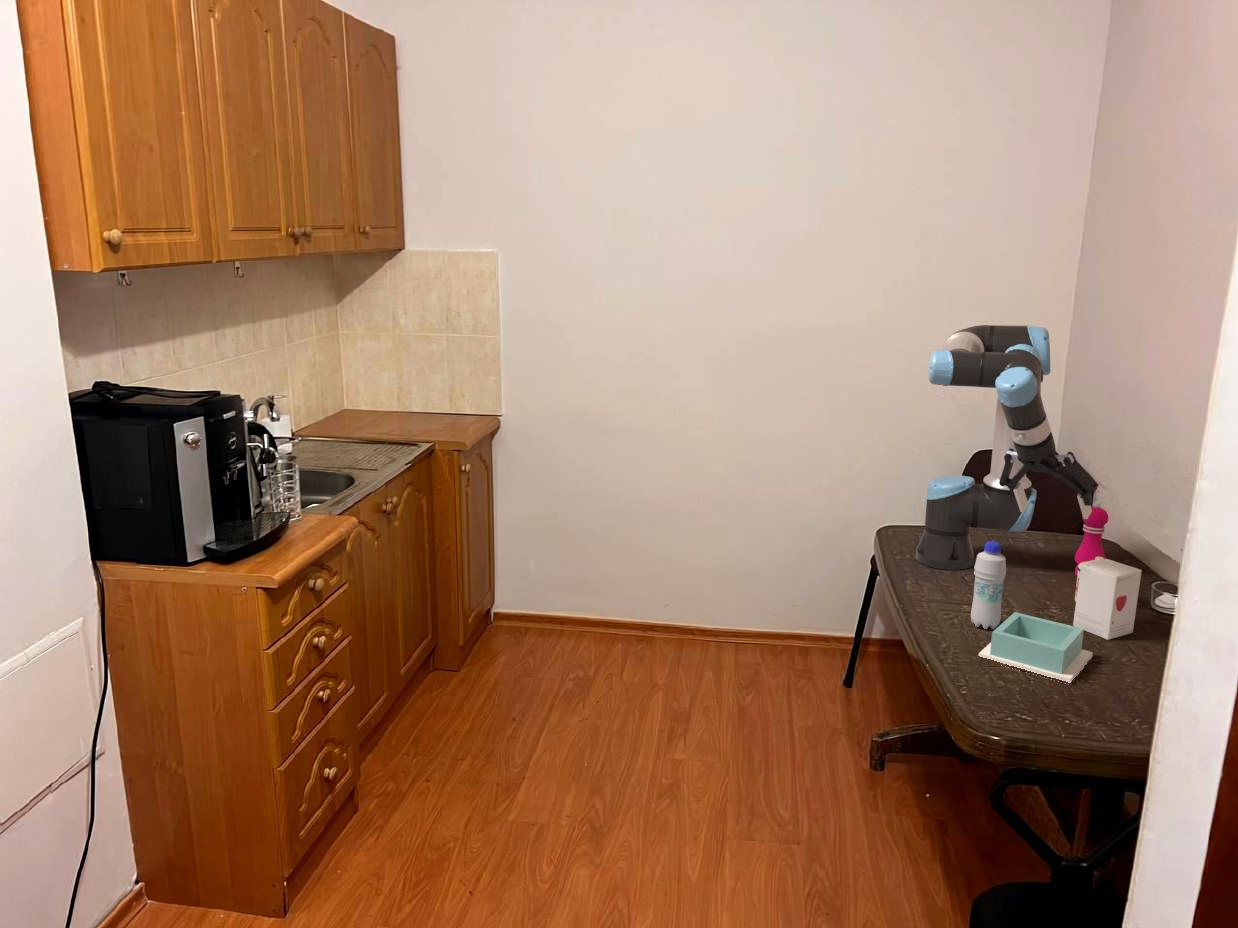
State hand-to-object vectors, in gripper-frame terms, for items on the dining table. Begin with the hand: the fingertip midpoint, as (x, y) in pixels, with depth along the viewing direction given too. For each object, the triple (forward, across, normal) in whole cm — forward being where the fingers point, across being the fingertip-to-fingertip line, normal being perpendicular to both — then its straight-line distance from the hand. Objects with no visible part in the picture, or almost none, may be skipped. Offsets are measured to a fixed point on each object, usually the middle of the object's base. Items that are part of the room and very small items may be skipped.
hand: (1055, 511), depth 202 cm
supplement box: (+30, +6, -6) cm, 31 cm away
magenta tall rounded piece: (+45, -10, +23) cm, 52 cm away
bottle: (+19, -12, -21) cm, 30 cm away
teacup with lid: (+36, -1, +5) cm, 36 cm away
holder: (+16, +3, -28) cm, 32 cm away
